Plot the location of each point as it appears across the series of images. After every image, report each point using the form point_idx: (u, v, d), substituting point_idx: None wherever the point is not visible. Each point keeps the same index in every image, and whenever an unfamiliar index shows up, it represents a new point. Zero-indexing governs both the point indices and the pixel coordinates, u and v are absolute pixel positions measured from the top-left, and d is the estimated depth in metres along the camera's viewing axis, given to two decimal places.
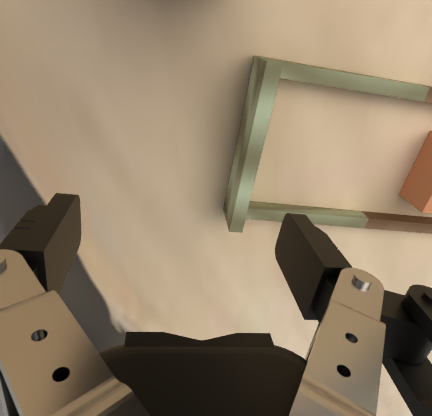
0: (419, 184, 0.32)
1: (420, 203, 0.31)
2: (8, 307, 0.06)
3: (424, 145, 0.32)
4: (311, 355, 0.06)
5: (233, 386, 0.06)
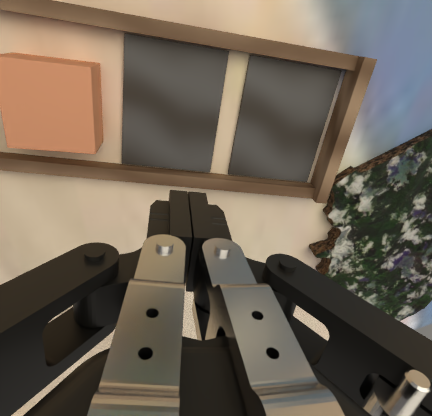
0: None
1: None
2: (148, 280, 0.07)
3: None
4: (243, 357, 0.06)
5: (233, 386, 0.06)
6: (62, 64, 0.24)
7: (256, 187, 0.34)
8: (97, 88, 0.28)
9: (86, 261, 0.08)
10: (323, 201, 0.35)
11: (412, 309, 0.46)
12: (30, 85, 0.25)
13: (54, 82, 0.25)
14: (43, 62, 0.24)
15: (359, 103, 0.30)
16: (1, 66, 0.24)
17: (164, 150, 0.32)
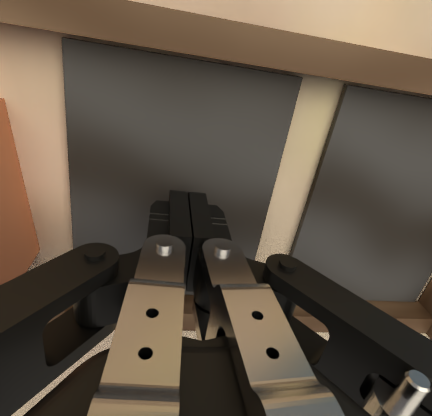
0: None
1: None
2: (148, 280, 0.07)
3: None
4: (243, 358, 0.06)
5: (233, 386, 0.06)
6: None
7: None
8: None
9: (86, 261, 0.08)
10: None
11: None
12: None
13: None
14: None
15: None
16: None
17: None
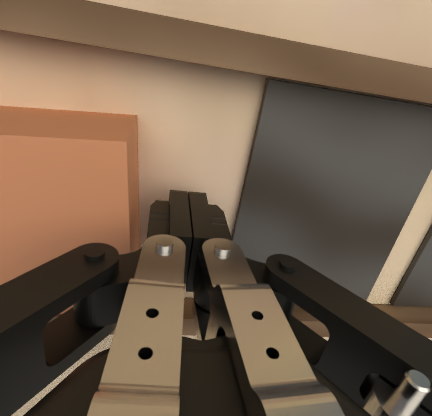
0: None
1: None
2: (148, 280, 0.07)
3: None
4: (242, 357, 0.06)
5: (233, 386, 0.06)
6: (54, 138, 0.09)
7: None
8: (134, 172, 0.12)
9: (86, 261, 0.08)
10: None
11: None
12: None
13: (35, 180, 0.10)
14: (4, 136, 0.09)
15: None
16: None
17: None
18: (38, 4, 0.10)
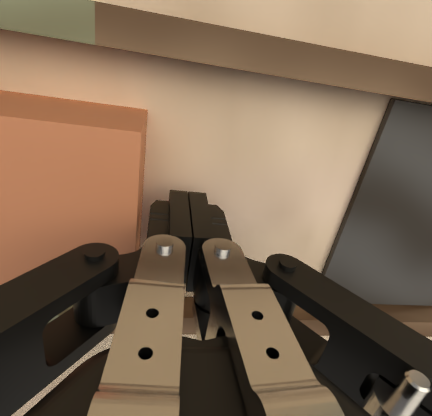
0: None
1: None
2: (148, 280, 0.07)
3: None
4: (243, 357, 0.06)
5: (233, 386, 0.06)
6: (70, 124, 0.10)
7: None
8: (142, 164, 0.13)
9: (86, 261, 0.08)
10: None
11: None
12: None
13: (47, 165, 0.10)
14: (21, 119, 0.09)
15: None
16: None
17: (387, 281, 0.19)
18: (223, 39, 0.11)
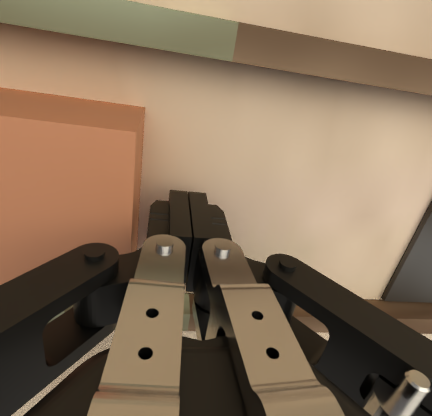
0: None
1: None
2: (148, 280, 0.07)
3: None
4: (243, 358, 0.06)
5: (233, 386, 0.06)
6: (63, 123, 0.09)
7: None
8: (139, 164, 0.12)
9: (86, 261, 0.08)
10: None
11: None
12: None
13: (40, 165, 0.10)
14: (12, 118, 0.09)
15: None
16: None
17: None
18: (347, 55, 0.11)
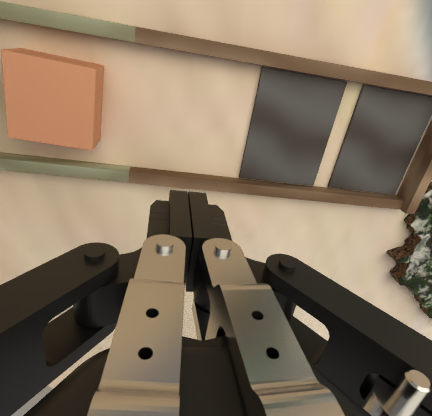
0: None
1: None
2: (148, 280, 0.07)
3: None
4: (243, 357, 0.06)
5: (233, 386, 0.06)
6: (69, 64, 0.26)
7: (353, 199, 0.38)
8: (99, 89, 0.29)
9: (86, 261, 0.08)
10: (412, 212, 0.39)
11: None
12: (36, 80, 0.26)
13: (59, 79, 0.26)
14: (51, 60, 0.26)
15: None
16: (10, 60, 0.25)
17: (278, 166, 0.36)
18: (183, 40, 0.28)
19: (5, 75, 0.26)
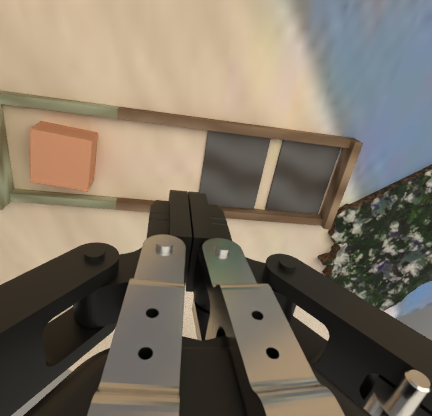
0: None
1: None
2: (148, 280, 0.07)
3: None
4: (243, 357, 0.06)
5: (233, 386, 0.06)
6: (74, 137, 0.39)
7: (284, 219, 0.51)
8: (94, 149, 0.42)
9: (86, 261, 0.08)
10: (328, 227, 0.52)
11: (392, 302, 0.63)
12: (51, 147, 0.39)
13: (67, 147, 0.39)
14: (62, 135, 0.39)
15: (352, 168, 0.47)
16: (35, 135, 0.38)
17: (225, 196, 0.49)
18: (150, 116, 0.41)
19: (31, 144, 0.39)
